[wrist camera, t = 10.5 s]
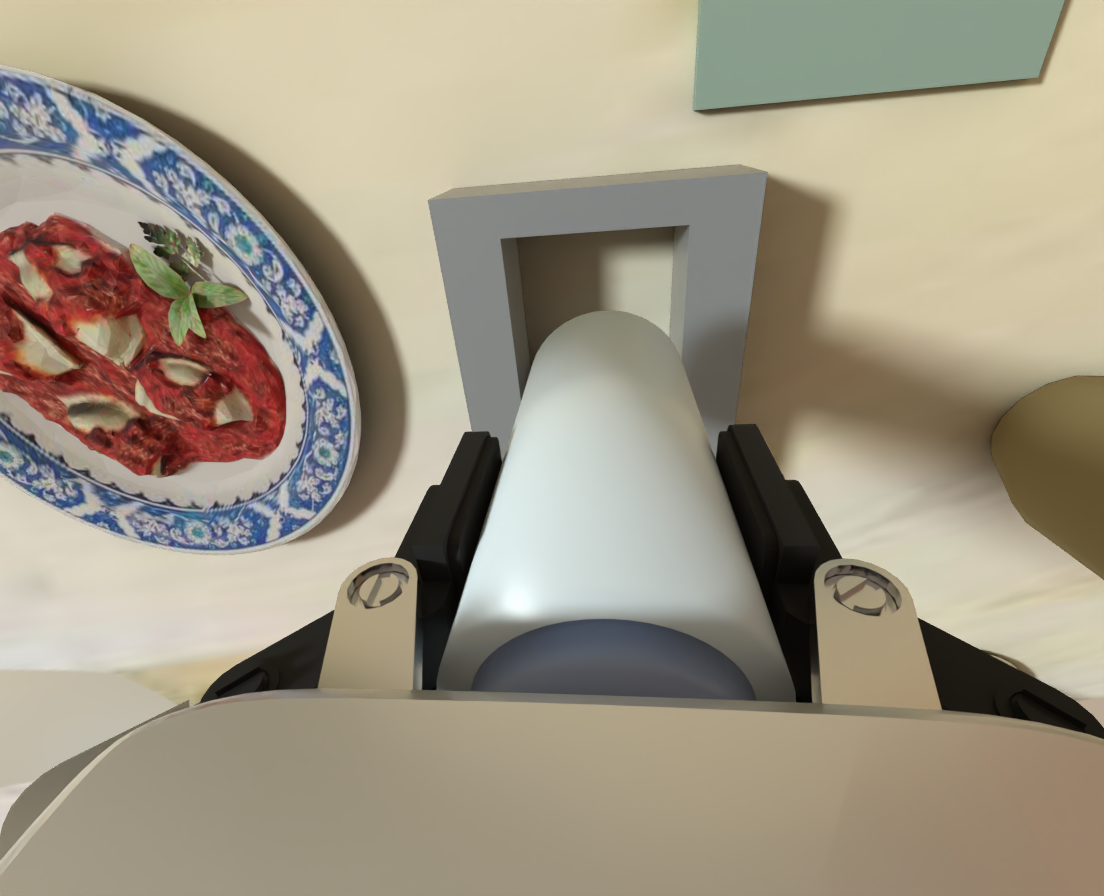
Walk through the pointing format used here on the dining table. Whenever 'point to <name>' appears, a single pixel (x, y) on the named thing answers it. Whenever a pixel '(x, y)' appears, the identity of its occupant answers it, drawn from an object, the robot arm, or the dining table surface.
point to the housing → (591, 206)
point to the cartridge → (612, 539)
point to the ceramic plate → (158, 338)
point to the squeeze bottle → (1058, 464)
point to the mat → (863, 46)
